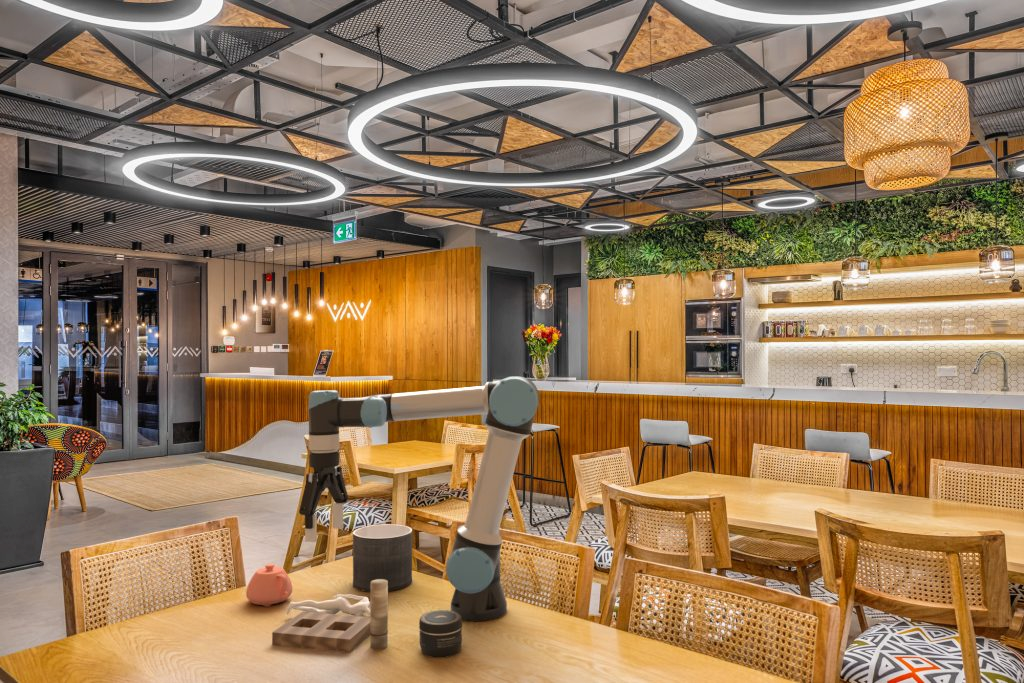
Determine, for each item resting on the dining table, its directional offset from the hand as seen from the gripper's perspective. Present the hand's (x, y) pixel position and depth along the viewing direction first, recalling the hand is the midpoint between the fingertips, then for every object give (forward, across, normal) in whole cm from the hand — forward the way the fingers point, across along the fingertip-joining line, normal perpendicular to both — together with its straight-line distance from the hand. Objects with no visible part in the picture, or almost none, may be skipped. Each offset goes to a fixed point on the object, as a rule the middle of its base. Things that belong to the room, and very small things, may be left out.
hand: (325, 534), depth 177 cm
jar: (+24, +6, +33) cm, 41 cm away
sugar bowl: (+23, -13, -24) cm, 36 cm away
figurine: (+24, -7, -1) cm, 25 cm away
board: (+23, +6, +3) cm, 24 cm away
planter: (+24, -36, -1) cm, 43 cm away
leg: (+24, +8, +18) cm, 31 cm away
